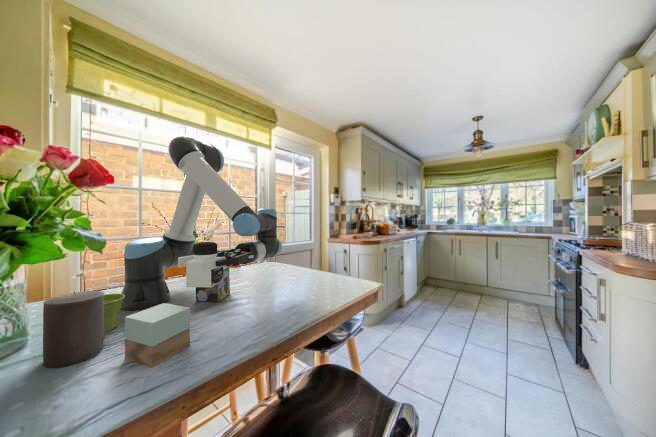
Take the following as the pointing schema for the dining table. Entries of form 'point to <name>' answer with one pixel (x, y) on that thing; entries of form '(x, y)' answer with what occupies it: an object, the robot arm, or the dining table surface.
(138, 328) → the tower top block
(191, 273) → the medicine bottle
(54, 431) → the dining table surface
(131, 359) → the tower base block
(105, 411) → the dining table surface
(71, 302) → the pillar candle
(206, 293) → the chalk box
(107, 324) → the plant pot
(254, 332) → the dining table surface
